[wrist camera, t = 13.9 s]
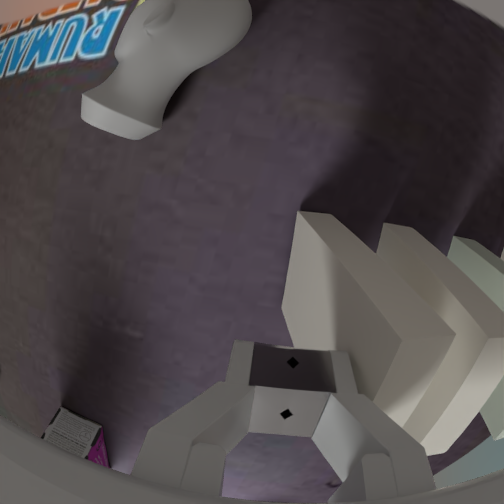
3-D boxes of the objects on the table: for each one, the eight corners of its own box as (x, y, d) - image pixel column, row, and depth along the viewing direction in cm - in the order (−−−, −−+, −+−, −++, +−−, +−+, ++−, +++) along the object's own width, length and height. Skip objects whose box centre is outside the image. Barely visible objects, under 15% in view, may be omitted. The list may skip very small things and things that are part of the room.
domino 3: (425, 318, 15) (494, 440, 7) (453, 235, 14) (566, 334, 5) (446, 319, 15) (517, 433, 7) (474, 240, 14) (584, 332, 5)
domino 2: (359, 313, 16) (406, 458, 7) (383, 222, 14) (489, 337, 5) (385, 315, 16) (444, 452, 7) (412, 227, 14) (525, 336, 5)
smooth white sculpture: (210, -9, 11) (282, 35, 11) (104, 102, 14) (154, 163, 13) (170, -58, 7) (255, -25, 7) (42, 82, 9) (86, 151, 9)
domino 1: (281, 307, 15) (333, 467, 7) (297, 210, 14) (402, 340, 5) (311, 308, 16) (379, 458, 7) (331, 214, 14) (456, 333, 6)
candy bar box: (114, 470, 26) (72, 579, 11) (76, 453, 26) (28, 555, 11) (106, 424, 22) (40, 571, 7) (59, 402, 22) (-16, 534, 7)
